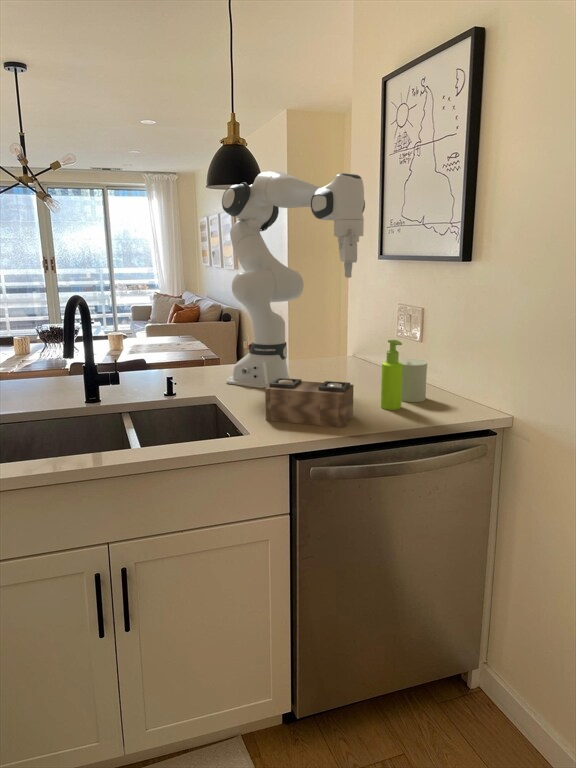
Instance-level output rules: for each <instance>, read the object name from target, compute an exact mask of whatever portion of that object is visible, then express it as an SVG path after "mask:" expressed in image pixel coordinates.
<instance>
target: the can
mask: <svg viewBox="0 0 576 768" xmlns="http://www.w3.org/2000/svg"><path fill="white" fill-rule="evenodd" d="M398 362H399V363H402V364H403V368H402V395H401V402H405V403H420V402H421V403H422V402H424V401H426V399H427V397H426V395H427V394H426V393H427V391H426V390H427V373H428V371H427V369H428V362H427V361H426V360H422V359H421V360H420V359H413V358H412V359H400V360H398Z"/></svg>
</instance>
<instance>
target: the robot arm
mask: <svg viewBox="0 0 576 768" xmlns="http://www.w3.org/2000/svg"><path fill="white" fill-rule="evenodd" d="M221 205H222V210H223V211H224V212H225V213H226V214H227V215H230V216H231V217H235V219H238V220H237V221H236V222H235V223H233V225H232V226H231V228H230V231H229V236H230V241H231V245H232V249H233V250H234V253H235V255H236V257H237V259H238V262H239V263H240V266H241V268H242V269H243V271H241V272H239V273H236V274H235V276H234V277H233V279H232V282H231V292H232V295H233V296H234V298H235V299H236V300H237V302H238V303H240V304H241V305H242V306H243V307H245V309H246V310H247V312H248V314H249V316H250V319H251V323H252V324H251V325H252V334H253V336H252V337H253V341H252V342H251V343H249V344H248V345H247V346H246V347H247V348H246V349H247V350H248V353H247V354H245V356H244V357H242V358H241V359H239V360H238V361H237V362H236V363H235V364H234V367H233V372H232V375H230V376H229V377H227V379H226V383H227V384H230V385H238V386H245V387H251V388H258V389H259V388H260V389H263V388H267V387H268V386H269V383H271V382H272V381H274V380H276V379H277V378H288V379H291V378H290V375H289V371H288V364H287V357H288V347H287V342H286V322H285V320H284V318H283V316H281V315H279V314H278V313H276V312H274V311H273V310H272V306H271V303H280V302H288V301H293V300H296V299H298V298H300V297H301V295H302V293H303V291H304V287H305V286H304V280H303V276H302V275H301V274H300V273H299V272H298V271H296V270H294V269H292V268H289V267H288V266H286V265H285V264H283V263H282V262H280V260H278V259H277V258H276V257H275V256H273V254H272V253H271V251H270V250H269V248H268V246H267V244H266V242H265V240H264V238H263V236H262V234H261V232H264V231H267V230H268V228H270V227H272V225H273V224H274V223H275V222H276V221H277V219H278V217H279V213H280V211H279V210H280V209H279V208H283V209H292V208H293V209H297V208H310V210H311V213H312V215H313V216H314V217H315V218H316V219H317V220H322V221H333V236H334V238H335V237H336V238H337V242H338V251H339V259H340V261H341V262H342V263H343V265H344V267H343V268H344V277H345V278H347V279H349V278H352V270H353V263H357V262H358V243H359V242H360V237H363V236H364V232H365V230H364V227H365V225H364V224H365V223H364V221H365V219H364V211H365V209H366V201H365V186H364V181H363V178H362V176H360V175H358V174H354V173H345V172H343V173H342V172H341V173H337V174H336V175H335V177H334V178H333V180H332V181H331V182H329V183H328V184H327V185H325V186H323V187H322V186H318V185H315V184H313V183H311V182H309V181H305V180H302V179H300V178H298V177H296V176H294V175H291V174H288V173H285V172H281V171H273V170H271V171H270V170H269V171H267V170H266V171H263V172H260V173H258V174H257V176H256V177H255V178H254V181H253V183H252V184H250V185H248V183H247V182H244V181H243V182H241V183H240V184H232V185H231V186H229V187H228V188H226V189H225V191H224V192H223V195H222V198H221Z"/></svg>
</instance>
